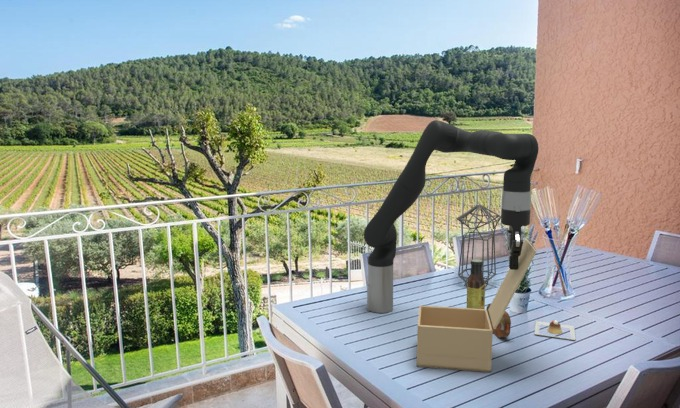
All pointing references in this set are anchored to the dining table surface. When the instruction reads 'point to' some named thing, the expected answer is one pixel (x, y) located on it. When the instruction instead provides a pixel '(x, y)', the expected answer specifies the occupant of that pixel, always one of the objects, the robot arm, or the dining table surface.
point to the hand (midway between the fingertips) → (513, 268)
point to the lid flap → (510, 284)
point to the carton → (454, 338)
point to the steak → (501, 325)
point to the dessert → (555, 329)
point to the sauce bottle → (476, 286)
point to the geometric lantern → (478, 239)
